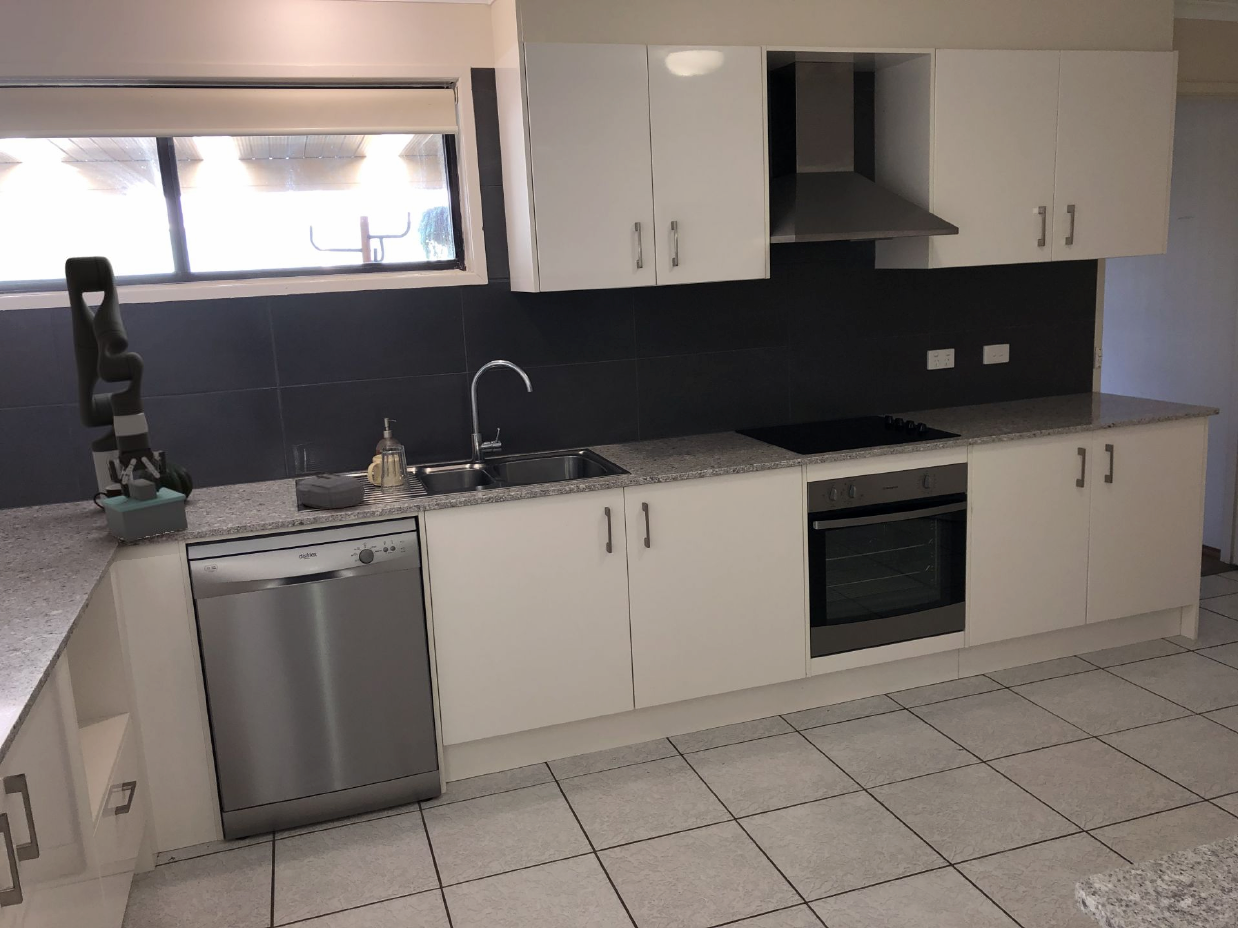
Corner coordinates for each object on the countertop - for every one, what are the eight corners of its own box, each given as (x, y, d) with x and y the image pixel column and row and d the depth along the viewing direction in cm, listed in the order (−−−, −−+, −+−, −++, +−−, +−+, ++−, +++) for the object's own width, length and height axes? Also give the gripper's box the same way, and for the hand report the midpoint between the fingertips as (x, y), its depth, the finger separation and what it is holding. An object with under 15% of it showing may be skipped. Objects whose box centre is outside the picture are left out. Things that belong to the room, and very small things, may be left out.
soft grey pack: (290, 506, 277) (332, 514, 264) (286, 477, 275) (328, 483, 263) (335, 494, 288) (378, 501, 276) (332, 466, 287) (374, 471, 274)
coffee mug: (153, 517, 274) (147, 482, 272) (130, 525, 266) (124, 489, 264) (118, 516, 277) (112, 482, 275) (95, 525, 269) (89, 489, 267)
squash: (210, 479, 294) (172, 443, 292) (184, 493, 279) (143, 456, 278) (182, 511, 297) (144, 476, 296) (155, 526, 283) (114, 490, 281)
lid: (101, 507, 258) (97, 484, 257) (165, 494, 268) (161, 473, 267) (121, 516, 246) (117, 492, 245) (186, 502, 257) (183, 479, 256)
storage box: (109, 533, 259) (103, 503, 258) (168, 520, 269) (163, 491, 268) (127, 542, 248) (121, 511, 247) (188, 528, 258) (183, 498, 257)
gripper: (155, 426, 261) (166, 487, 264) (97, 435, 251) (108, 498, 255) (165, 428, 255) (176, 490, 259) (106, 437, 246) (117, 502, 249)
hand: (142, 494), depth 257 cm, fingers open, 6 cm apart
